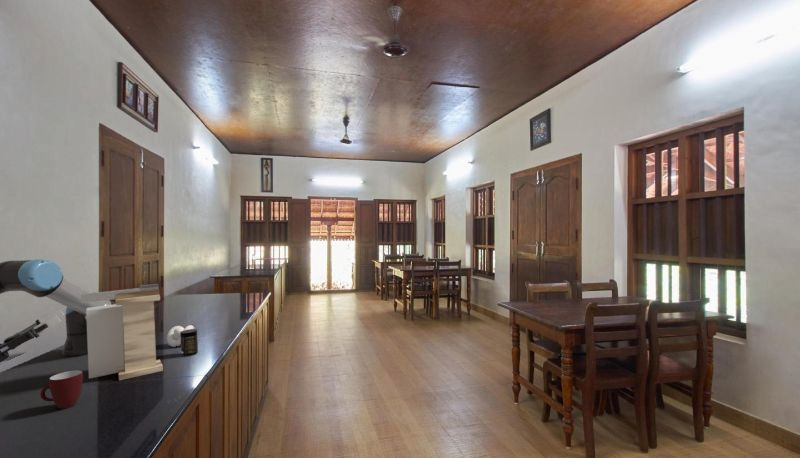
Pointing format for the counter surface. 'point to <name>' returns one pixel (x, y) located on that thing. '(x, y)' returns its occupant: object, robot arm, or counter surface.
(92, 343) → the block
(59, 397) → the mug
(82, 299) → the steel bar
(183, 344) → the supplement container
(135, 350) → the stand
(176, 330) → the white twisted tube knot
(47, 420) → the counter surface
